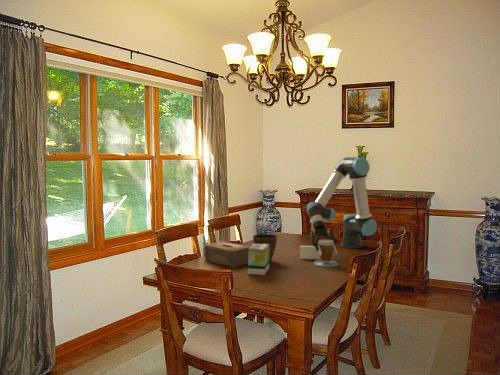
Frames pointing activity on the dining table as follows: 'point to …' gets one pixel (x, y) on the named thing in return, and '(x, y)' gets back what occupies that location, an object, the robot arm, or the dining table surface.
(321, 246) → the disposable coffee cup
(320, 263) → the plate
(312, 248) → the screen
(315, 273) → the dining table surface
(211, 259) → the tissue box cover
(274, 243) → the plant pot
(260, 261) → the tea box
